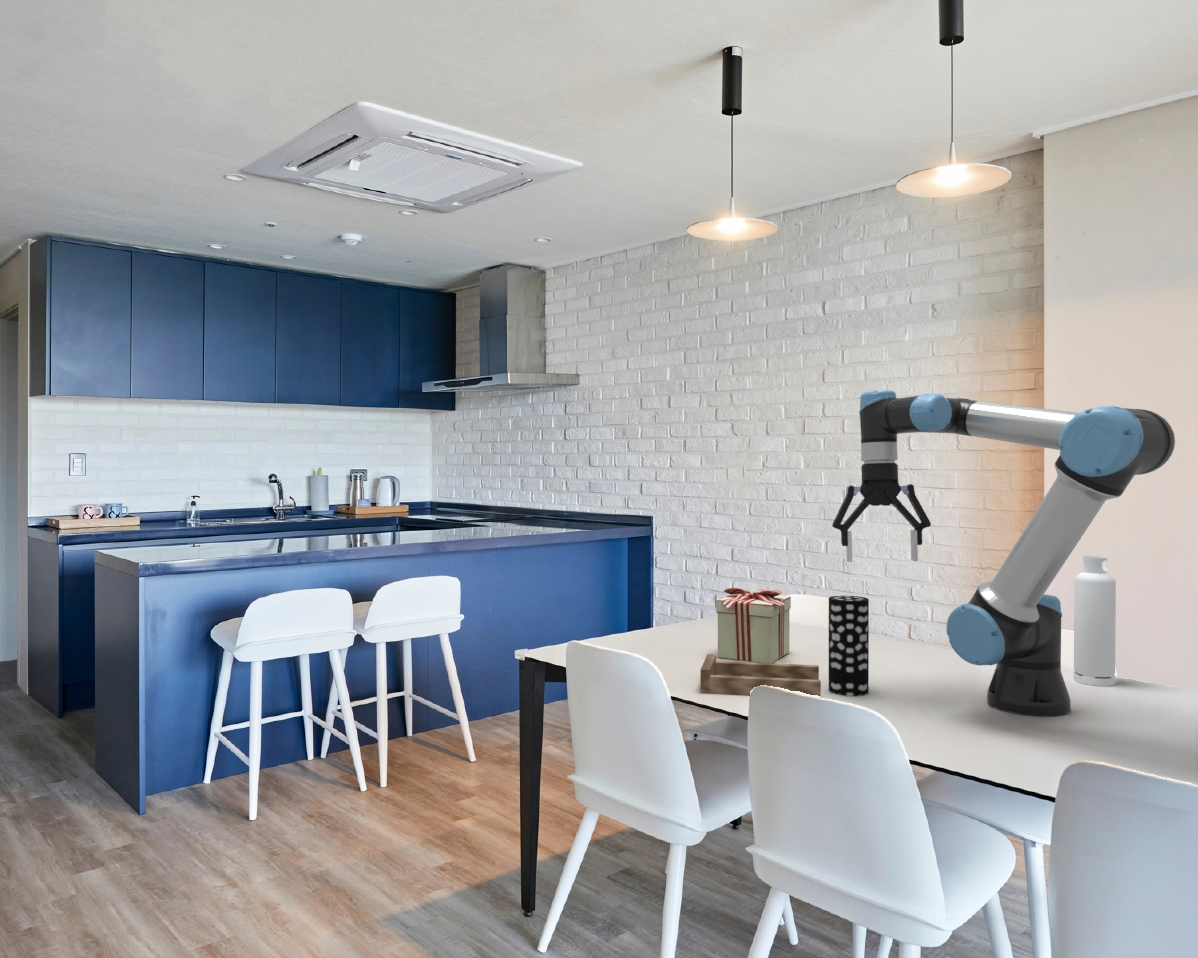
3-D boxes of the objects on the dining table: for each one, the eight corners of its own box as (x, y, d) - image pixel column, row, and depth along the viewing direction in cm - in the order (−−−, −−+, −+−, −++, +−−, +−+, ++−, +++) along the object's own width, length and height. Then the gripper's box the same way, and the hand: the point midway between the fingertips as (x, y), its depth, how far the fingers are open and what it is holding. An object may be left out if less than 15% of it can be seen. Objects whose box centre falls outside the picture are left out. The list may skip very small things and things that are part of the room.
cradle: (818, 680, 201) (818, 658, 200) (820, 698, 185) (820, 674, 185) (707, 675, 206) (707, 653, 206) (700, 692, 190) (700, 669, 190)
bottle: (1080, 675, 205) (1081, 554, 204) (1120, 681, 199) (1120, 556, 199) (1068, 681, 199) (1069, 557, 199) (1108, 688, 193) (1109, 559, 193)
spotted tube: (870, 696, 187) (870, 601, 186) (829, 694, 188) (829, 600, 188) (866, 687, 195) (866, 596, 194) (827, 685, 196) (827, 595, 196)
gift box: (711, 661, 221) (711, 592, 221) (733, 647, 238) (732, 583, 238) (778, 667, 214) (778, 596, 214) (796, 653, 231) (796, 587, 230)
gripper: (934, 461, 194) (937, 558, 194) (818, 464, 197) (820, 560, 197) (943, 460, 187) (946, 561, 186) (822, 463, 190) (825, 563, 189)
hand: (881, 561), depth 192 cm, fingers open, 13 cm apart
